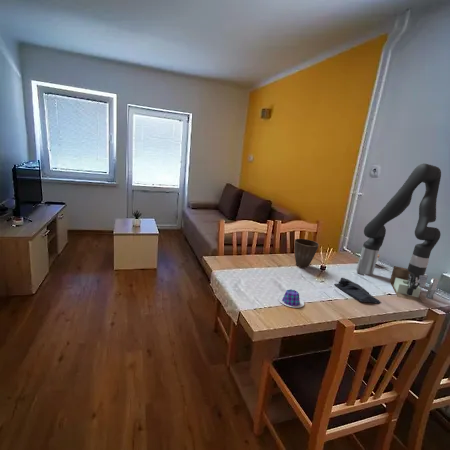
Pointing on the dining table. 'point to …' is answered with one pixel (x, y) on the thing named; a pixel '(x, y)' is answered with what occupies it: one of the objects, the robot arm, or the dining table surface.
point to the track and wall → (403, 274)
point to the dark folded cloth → (356, 291)
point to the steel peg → (432, 288)
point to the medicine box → (422, 280)
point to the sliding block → (405, 287)
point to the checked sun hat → (291, 299)
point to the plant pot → (304, 252)
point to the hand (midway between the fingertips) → (409, 294)
